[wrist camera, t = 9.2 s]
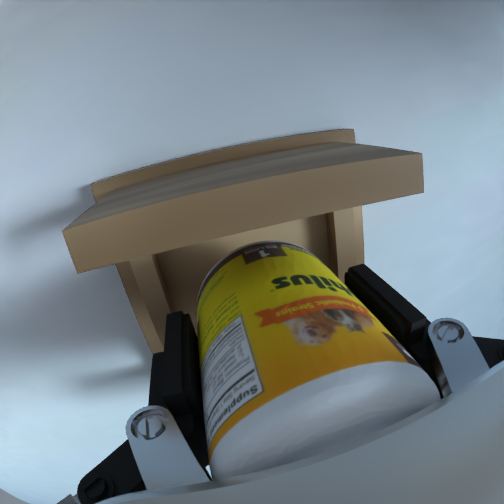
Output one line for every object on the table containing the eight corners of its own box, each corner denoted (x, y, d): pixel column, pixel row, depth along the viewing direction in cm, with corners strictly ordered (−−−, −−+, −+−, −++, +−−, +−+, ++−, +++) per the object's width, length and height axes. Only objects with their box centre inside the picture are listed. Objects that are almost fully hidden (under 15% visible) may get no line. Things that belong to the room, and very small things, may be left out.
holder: (97, 181, 13) (26, 223, 6) (343, 128, 14) (443, 135, 8) (170, 377, 18) (171, 475, 11) (356, 327, 19) (415, 402, 12)
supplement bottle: (350, 272, 13) (520, 450, 4) (278, 366, 14) (360, 563, 5) (242, 206, 11) (425, 478, 2) (170, 323, 12) (179, 587, 3)
